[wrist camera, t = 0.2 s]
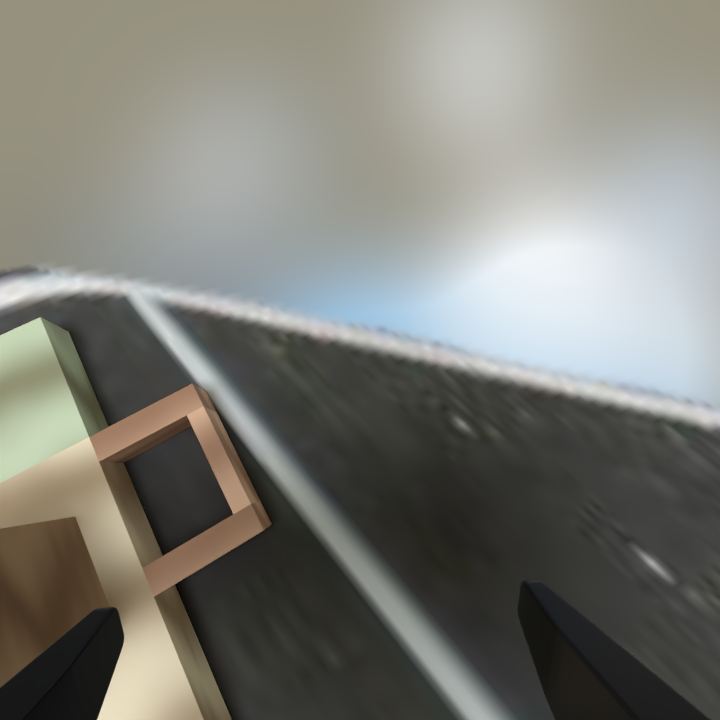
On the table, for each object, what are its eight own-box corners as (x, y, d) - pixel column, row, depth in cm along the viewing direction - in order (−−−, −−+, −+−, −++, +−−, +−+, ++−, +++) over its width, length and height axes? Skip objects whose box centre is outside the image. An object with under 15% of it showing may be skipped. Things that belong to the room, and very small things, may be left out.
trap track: (348, 680, 21) (349, 707, 19) (-89, 990, 17) (-158, 1073, 15) (156, 290, 27) (138, 272, 24) (-206, 459, 23) (-271, 458, 21)
